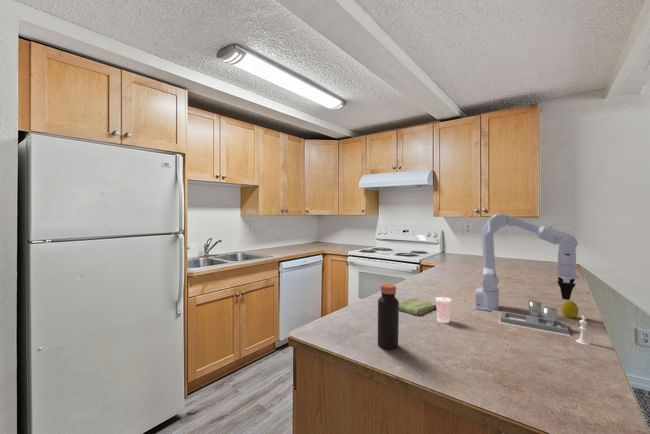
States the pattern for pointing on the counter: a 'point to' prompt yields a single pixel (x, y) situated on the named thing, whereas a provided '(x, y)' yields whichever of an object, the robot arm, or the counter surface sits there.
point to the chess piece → (583, 331)
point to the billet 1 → (534, 308)
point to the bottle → (388, 317)
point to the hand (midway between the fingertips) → (565, 297)
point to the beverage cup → (443, 308)
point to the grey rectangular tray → (532, 323)
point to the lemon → (569, 309)
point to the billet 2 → (550, 316)
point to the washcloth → (416, 306)
